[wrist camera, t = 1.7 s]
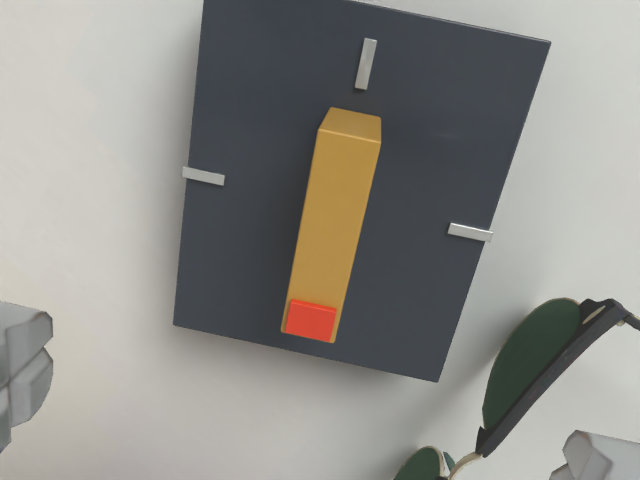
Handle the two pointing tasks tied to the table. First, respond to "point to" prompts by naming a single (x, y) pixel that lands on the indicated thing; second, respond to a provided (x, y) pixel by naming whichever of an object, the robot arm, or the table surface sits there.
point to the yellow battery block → (331, 222)
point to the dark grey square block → (389, 177)
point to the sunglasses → (526, 374)
